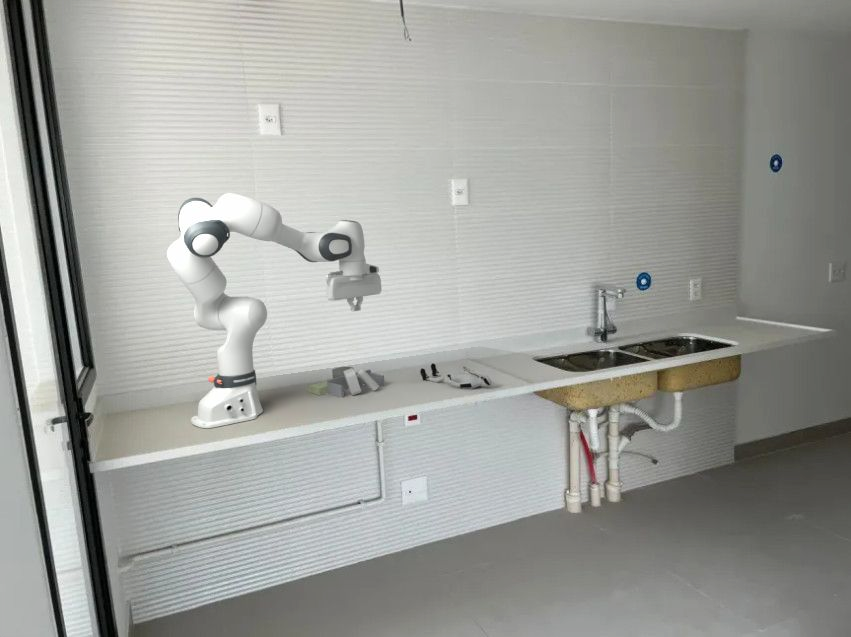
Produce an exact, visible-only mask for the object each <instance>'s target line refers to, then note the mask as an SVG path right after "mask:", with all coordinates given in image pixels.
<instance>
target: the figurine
mask: <svg viewBox="0 0 851 637" xmlns="http://www.w3.org/2000/svg"><path fill="white" fill-rule="evenodd" d="M436 366H437V365H436V363H431V365H430V368H431V375H432V376H433V377H430V376H429V375H428V374H427V372H426V369H425V368H421V369H420V371H419V372H420V375H421V378H422V381H424V380H426V382H427V381H428V382H429V381H431V382H432V383H441V382H444V383H447V384H449V385H451V386H452V387H455V388H459V389H461V390H462V389H470V390H473V389H476V388H479V387H482V388H483V387H484V388H485V387H486V388H487V387H490V386H491V385H492V380H491V378H490V377H489V376H488V375H483V374H478V373H477V372H475V370H474V369H471V367H468V366H466V365H465V366H462V369H463V371H464V372H463V371H448V372H446V373H445V372H444V373H443V372H440V371H438V369H437V367H436ZM465 371H466V372H465ZM467 372H468V373H467Z"/></svg>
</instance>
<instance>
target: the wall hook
mask: <svg viewBox="0 0 851 637" xmlns="http://www.w3.org/2000/svg"><path fill="white" fill-rule="evenodd" d="M353 368H354V367H353ZM353 368H351V369H348V370H345V371H343V373H344V376H345V379H346V382H347V384H348V387H349V389H348V390H349V392H350V394H351V395H352V396H355V395H358V394H361V393H362V389H361V386H360V385H359V382H358V379H357V378H358V377H360V378H361V379H362V380H363V382H364V383H365V386H367V387H368V388H369V389H370V390H371V391H372V392H375V391H377V390H378V388H380V386H379V385H378V384H377V383H376V382H375V381H374V380H373V379H372V378H371V377H370V375H369V374H368V373H367V372H366V371H365V369H359V370H358V371H357V372H358V374H355V373H356V372H355V369H354V370H353Z"/></svg>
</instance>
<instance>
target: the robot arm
mask: <svg viewBox="0 0 851 637" xmlns="http://www.w3.org/2000/svg"><path fill="white" fill-rule="evenodd" d="M177 220H178V231H179V233H180V234H181V235H180V237H179V238H178V239H176V240H174V242H173V243H171V244H170V246H169V247H168V248H167V252H166V254H167V260H168V261H169V263H170V265H171V267H172V269H173V271H174V273H175V274H176V275H177V277H178V278H179V280H180V281H181V282H182V283H183V285H184V286H185V288H187V290H188V291H189V293H190V294H191V295H192V296H193V298H194V300H195V303H196V304H195V306H194V308H193V317H194V318H193V319H194V321H195V323H196V324H197V325H198V326H199V327H200V328H203V329H206V330H210V331H226V333H227V335H226V340H225V341H224V343H222V344H221V345H220V346H218V348H217V351H216V360H217V369H218V370H217V371H218V373H217V375H216V376H213V375H209V376H208V378H207V381H208V382H209V383H212V384H213V385H214V386H213V387H212V388H211V389H210V390H209V392H207V393H206V394H205V395H204V396H203V397H202V398H201V399H200V401H199V402H198V406H197V415H194V416H192V417H191V419H190V422H191V424H192V425H194V426H196V427H198V428H200V429H202V428H203V429H212V428H216V427H217V428H219V427H222V426H226V425H227V426H228V425H231V424H232V425H233V424H235V423H241V422H247V421H251V420H256V419H257V417H258V416H259V415H260V414H262V413H263V412H264V409H263V407H262V404H261V401H260V398H259V395H258V389H257V376H256V375H257V374H256V369H254V367H255V366H254V357H253V355H254V354H253V353H254V352H253V346H254V341H255V338H256V335H257V333H258V331H259V330H260V329H261V328H262V327H263V326H264V325H265V323H266V322H267V320H268V310H267V307H266V304H265V303H264V302H263V301H262V300H261V299H258V298H255V297H250V296H229V295H227V294H226V293H225V290H226V289H227V288H226V287H227V277H226V276H225V274H224V273H223V272H222V270H221V269H220V267H219V266H218V265H217V264H216V262H215V260H214V259H213V258H212V257H213V256H215V255H216V254H218V253H219V252H220V251H221V250H222V248H223V246H224V244H226V242H228V241H229V239H230V237H231V232H233V233H237V234H240V235H243V236H246V237H248V238H251V239H254V240H257V241H263V242H272V243H275V244H278V245H281V246H283V247H286V248H289V249H291V250H293V251H294V252H296V253H297V254H299V256H301V258H303V259H304V260H305V261H307V262H310V263H322V262H323V263H326V262H328V263H332V262H336V261H338V266H339V267H338V268H339V270H337V271H330V272H329V273H328V274H327V275H326V290H325V291H326V292H325V293H326V298H327V299H328V301H334V302H335V301H342V300H346V302H347V303H348V305H349V306H350V311H351V312H359V311H361V309H362V308H361V306H362V304H363V302H364V297H369V296H375V295H380V294H381V292H382V280H381V275H380V274H379V272H380V267H379V266H378V265H374V264H373V265H372V264H370V263H367V262H366V256H365V246H366V245H365V236H364V231H363V227H362V225H361V223H360V222H359V221H355V220H347V219H345V220H344V219H342V220H339V221H338V222H337V223H336V224H335V225H334V226H333V227H332V226H331V228H329V229H327V230H325V231H321V232H320V231H319V232H318V231H308V232H303V231H299V230H297V229H295V228H292V227H291V226H288V225H285V224H284V223H283V219H282V214H281V213H280V211H279V210H277V209H276V208H274V207H273V206H272V205H269V204H267V203H265V202H263V201H260V200H257V199H255V198H253V197H249V196H245V195H242V194H237V193H224V194H223V195H222V196H220V197H219V199H218V200H217V202H216V204H215V205H214V206H213V205H212V204H211V203H210V202H209V201H208V200H206V199H204V198H201V197H191V198H188V199H186V200H184V202H183V203H182V204H181V205H180V207H179V210H178V217H177ZM355 300H356V304H355V303H354V302H355Z"/></svg>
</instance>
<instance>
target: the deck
mask: <svg viewBox="0 0 851 637" xmlns="http://www.w3.org/2000/svg"><path fill="white" fill-rule="evenodd" d="M351 368H353V370H354V371H355V368H354V367H352V366H340V367H335V368H333V369H331V372H332V378H328V379H326V380H325V381H322V382H319V383H318V382H317V383H313V384H310V385H308V392H309V393H310V392H311V393H312V394H314V395H316V396H322V395H327V394H329V395H332V396H336V397H338V396H339V398H341V397H342V398H345V393H344V392H345V390H344V389H346V390H349V389H348V388H349V387H348V384H347V382H346V379H345V376H344V373H343V371H345V370H348V369H351ZM364 370H365V369H364ZM365 371H366V372H367V373H368V374H369V375H370V377H371V378H372V379H373V380H374V381H375V382H376V383H377V384H378V385H379V387H385V376H384V375H383V374H378V373H374V372H372V370H371V369H366V370H365ZM355 374H358V371H357V372H355ZM357 379H358V382H359V385H361V386H364V385H363V384H365V383H364V382H363V380H362V379H361V378H360V377H358V378H357ZM365 385H366V384H365ZM326 393H327V394H326Z"/></svg>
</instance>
